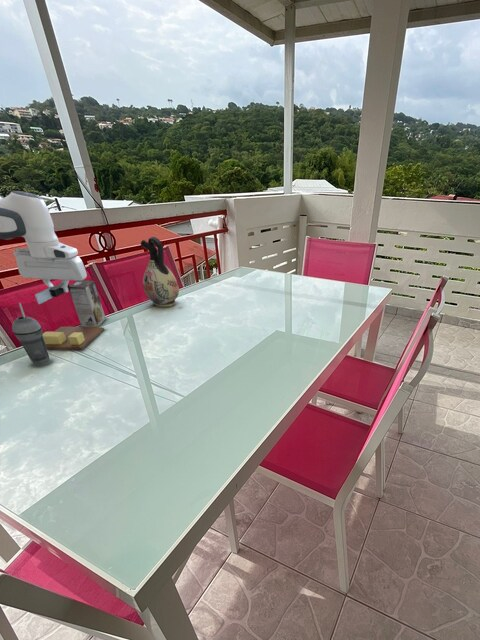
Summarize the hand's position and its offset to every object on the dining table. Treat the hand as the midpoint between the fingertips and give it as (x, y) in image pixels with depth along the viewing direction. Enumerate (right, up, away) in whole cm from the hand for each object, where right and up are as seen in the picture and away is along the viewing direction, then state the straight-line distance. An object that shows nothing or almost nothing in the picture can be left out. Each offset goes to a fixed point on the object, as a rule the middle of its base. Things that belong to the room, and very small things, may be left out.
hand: (59, 291), depth 116 cm
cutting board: (0, -16, +6) cm, 17 cm away
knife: (0, -3, -3) cm, 4 cm away
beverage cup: (+1, -26, -9) cm, 28 cm away
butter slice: (+5, -18, +2) cm, 18 cm away
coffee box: (0, -7, +20) cm, 21 cm away
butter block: (-3, -18, +1) cm, 18 cm away
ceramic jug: (+20, +7, +42) cm, 47 cm away
